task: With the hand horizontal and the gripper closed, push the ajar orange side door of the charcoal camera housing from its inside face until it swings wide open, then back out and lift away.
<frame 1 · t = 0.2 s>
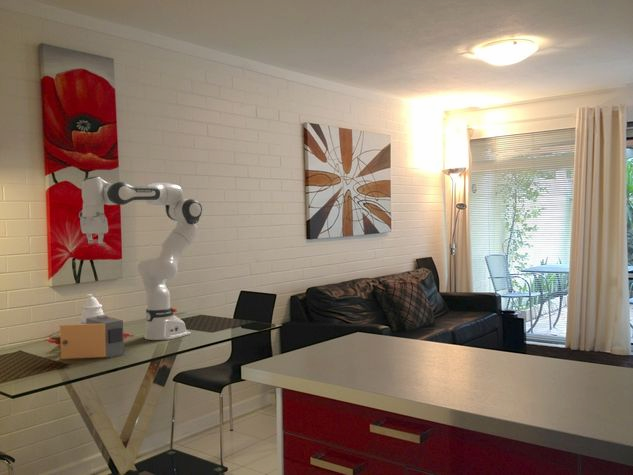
hand: (95, 243, 270), 48 cm above the table, tool pointing down, fingers open, 8 cm apart
side door: (82, 341, 252), point 8 cm above the table, hinge at 50.0°
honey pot: (93, 327, 322), on the table
camera housing: (105, 353, 264), on the table
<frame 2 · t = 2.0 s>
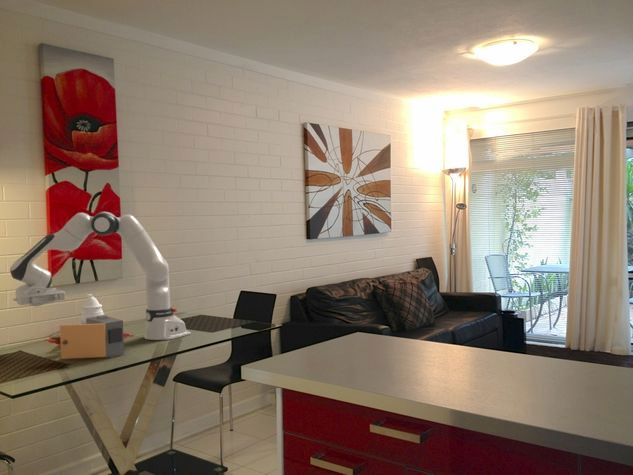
hand: (48, 299, 263), 24 cm above the table, tool horizontal, fingers open, 6 cm apart
nothing on the table moved.
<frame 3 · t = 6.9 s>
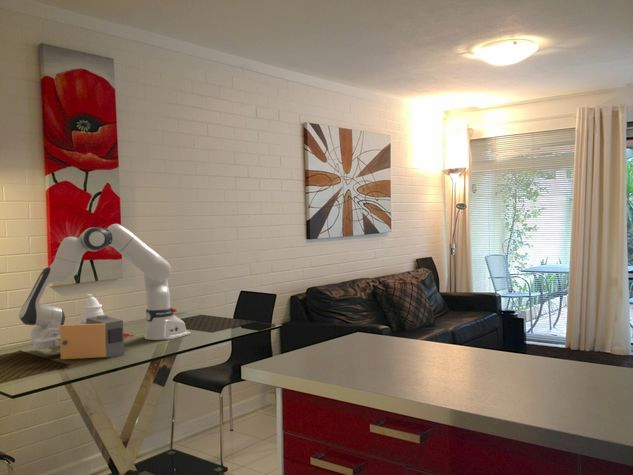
hand: (65, 343, 253), 7 cm above the table, tool horizontal, fingers closed
side door: (82, 341, 251), point 8 cm above the table, hinge at 52.4°, touching gripper
everything else where it was.
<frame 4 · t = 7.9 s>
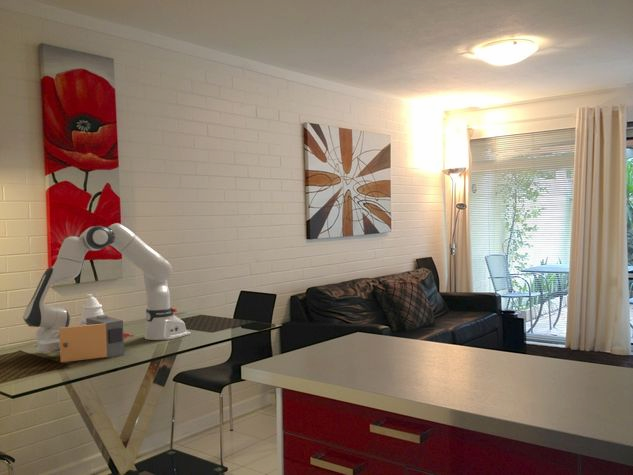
hand: (70, 346, 249), 7 cm above the table, tool horizontal, fingers closed
side door: (83, 342, 249), point 8 cm above the table, hinge at 69.7°, touching gripper
everything else where it was.
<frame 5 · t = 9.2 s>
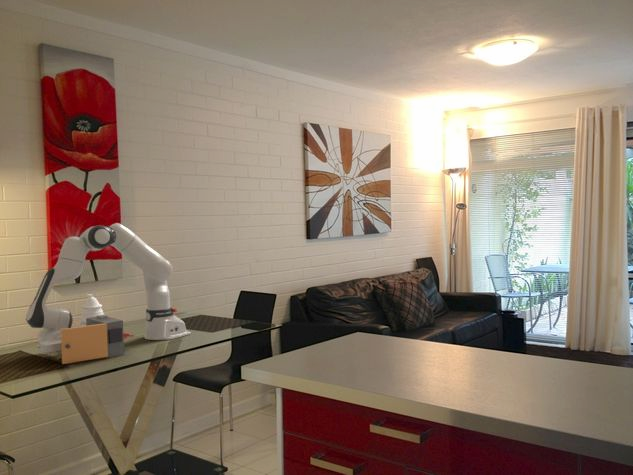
hand: (73, 346, 247), 7 cm above the table, tool horizontal, fingers closed
side door: (85, 343, 248), point 8 cm above the table, hinge at 80.6°, touching gripper
everything else where it was.
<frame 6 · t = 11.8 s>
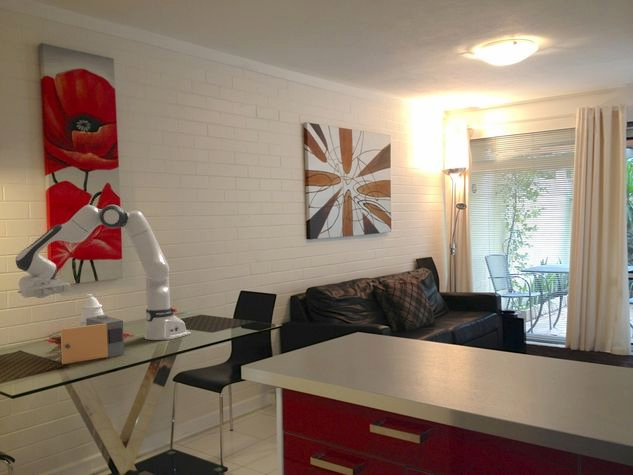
hand: (53, 292, 261), 28 cm above the table, tool horizontal, fingers closed
side door: (85, 343, 248), point 8 cm above the table, hinge at 80.6°
everything else where it was.
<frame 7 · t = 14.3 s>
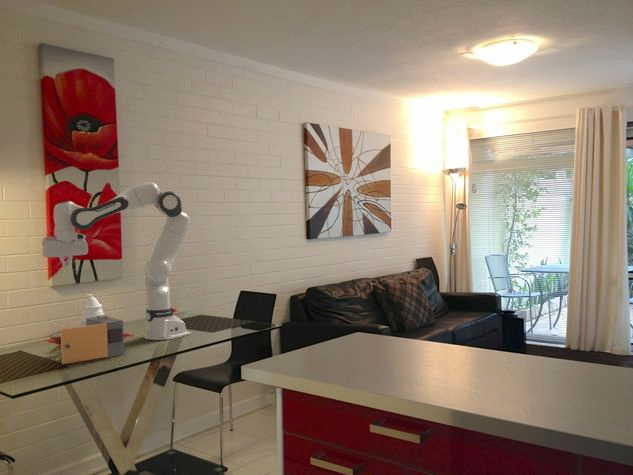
hand: (66, 265, 281), 37 cm above the table, tool pointing down, fingers closed
nothing on the table moved.
at the end: side door at +81° (first picture: +50°) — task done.
